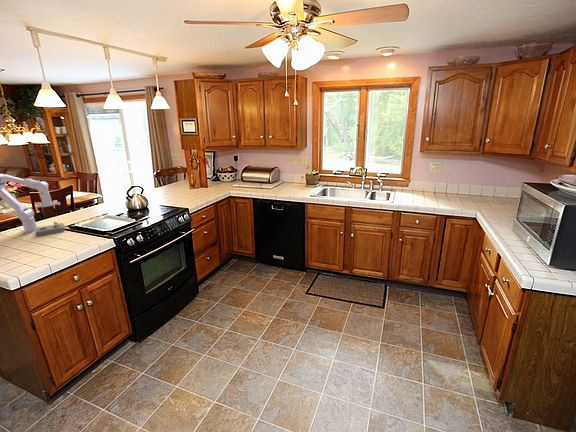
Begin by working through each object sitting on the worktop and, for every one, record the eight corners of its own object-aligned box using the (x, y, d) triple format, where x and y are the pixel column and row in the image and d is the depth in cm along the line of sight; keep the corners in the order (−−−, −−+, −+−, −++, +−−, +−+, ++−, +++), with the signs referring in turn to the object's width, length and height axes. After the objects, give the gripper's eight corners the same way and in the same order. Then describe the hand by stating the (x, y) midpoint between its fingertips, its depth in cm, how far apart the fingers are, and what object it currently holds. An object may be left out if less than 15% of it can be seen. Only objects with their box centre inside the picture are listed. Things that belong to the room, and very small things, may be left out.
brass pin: (55, 229, 218) (53, 221, 216) (60, 228, 220) (57, 220, 218) (55, 230, 216) (53, 222, 214) (59, 229, 218) (57, 221, 216)
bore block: (37, 231, 216) (36, 227, 215) (64, 226, 225) (63, 222, 224) (36, 236, 207) (35, 232, 206) (64, 231, 216) (63, 227, 215)
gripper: (32, 201, 209) (38, 219, 213) (58, 197, 217) (63, 215, 221) (33, 199, 214) (39, 216, 219) (58, 195, 222) (63, 212, 227)
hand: (51, 215), depth 220 cm, fingers open, 7 cm apart
